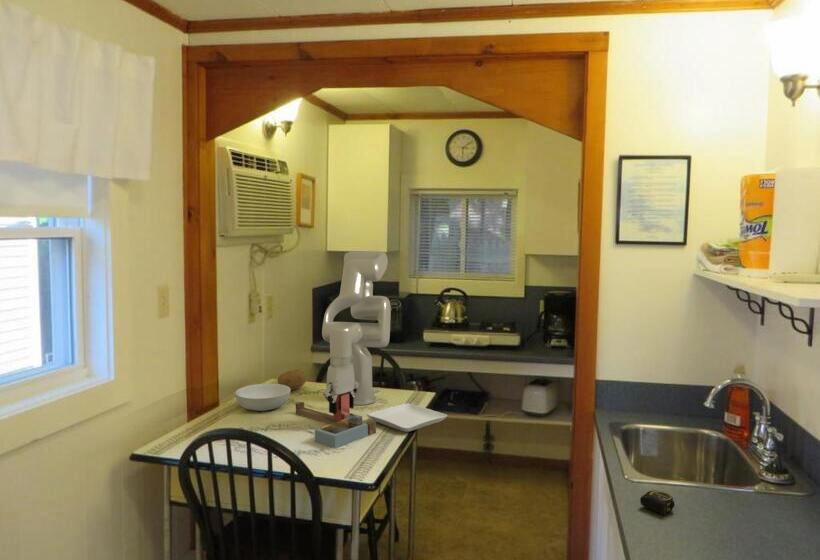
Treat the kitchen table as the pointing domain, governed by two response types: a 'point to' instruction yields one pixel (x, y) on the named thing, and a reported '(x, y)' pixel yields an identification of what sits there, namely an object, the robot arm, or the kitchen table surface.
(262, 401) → the serving bowl
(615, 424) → the kitchen table surface
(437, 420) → the salad plate
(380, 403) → the kitchen table surface
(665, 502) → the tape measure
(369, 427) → the rail
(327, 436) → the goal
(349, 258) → the robot arm
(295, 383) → the potato
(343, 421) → the toy block assembly
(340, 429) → the puck
